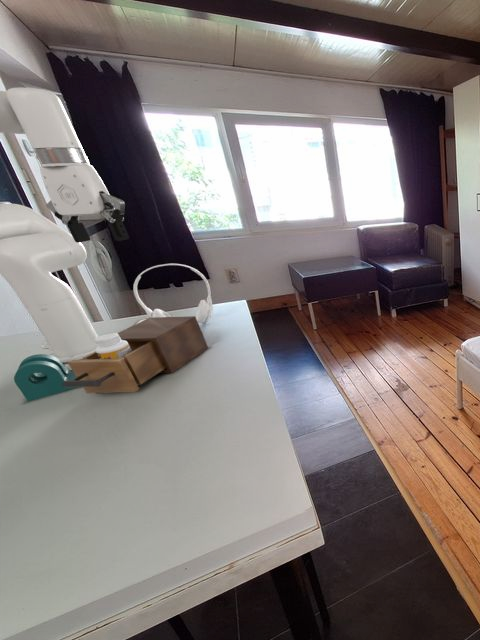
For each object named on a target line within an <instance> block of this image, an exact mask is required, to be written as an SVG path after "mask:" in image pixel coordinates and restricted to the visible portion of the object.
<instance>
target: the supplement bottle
mask: <svg viewBox="0 0 480 640" xmlns="http://www.w3.org/2000/svg"><path fill="white" fill-rule="evenodd" d="M117 333H118V332H112V333H106V334H103V335H102V334H101V335H100V336H99V335H98V337H97V338H96V339H95V341H96V343H97V345H98V347H97V348H96V349H95V351H96V353H97V355H98V356H99V358H100V359H124V358H123V356H125V355H126V354H128V353H130V352H132V350H131V348H130V346H129V344H128V342H127V341H125V340H121V338H120V337H119V335H118V334H117ZM124 361H125V360H124ZM125 363H126V362H125ZM126 365H127V364H126ZM129 370H130V369H129ZM130 372H131V371H130ZM131 374H132V373H131ZM132 376H133V375H132ZM133 378H134V377H133Z"/></svg>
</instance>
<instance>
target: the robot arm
mask: <svg viewBox="0 0 480 640" xmlns="http://www.w3.org/2000/svg"><path fill="white" fill-rule="evenodd" d="M0 133H2V134H14V135H26V138H27V139H28V142H29V143H30V145H31V147H32V149H33V151H34V153H35V158H36V160H38V161H39V164H40V165H41V166H39V172H40V176H41V179H42V183H43V184H44V187H45V190H46V192H47V194H48V197H49V199H50V200H49V201H48V202H47V203H46V208H47V209H48V210H49V211H50V212H51V213H52V214H53V215H54V217H56V218H57V219H58V220H60V221H61V223H62V224H63V225H65V226H66V227H67V229H68V230H69V232H68V231H67V230H65V229H64V228H62V227H61V226H59V225H58V224H56V223H55V222H53V221H52V220H50V219H48V218H47V217H45V215H43V214H42V213H40V212H38V211H36V210H35V209H33V208H31V207H28V206H26V205H22V204H18V203H0V275H1V277H2V278H3V279H4V280H5V281H6V282H7V283H8V285H9V286H10V287H11V289H12V290H13V291H14V292H15V294H16V295H17V297H18V299H19V300H20V302H21V303H22V305H23V306H24V307H25V309H26V311H27V313H28V314H29V316H30V317H31V319H32V320H33V322H34V324H35V325H36V326H37V328H38V330H39V332H40V333H41V334H42V336H43V338H44V340H45V341H44V342H45V343H42V344H41V345H40V348H41V349H42V350H49V351H50V352H51V353H50V354H49V355H51V356H54V357H56V358H58V359H59V360H60V361H61V362H62V363H63V364H64V363H68V362H70V361H72V360H83V357H85V356H87V355H89V354H91V353H93V352H95V349H96V348H97V347H98V345H97V343H96V341H95V339H96V338H97V337H99V335H98V334H97V332H96V330H95V328H94V326H93V324H92V323H91V320H90V318H88V315H87V314H86V312H85V310H84V309H83V306H82V305H81V303H80V301H79V300H78V298H77V295H76V294H75V293H74V290H73V289H72V288H71V287H70V286H69V284H68V283H66V282H65V281H63V280H61V279H60V278H58V277H56V276H55V275H53V274H52V273H55V272H58V271H63V270H67V269H71V268H74V267H78V266H80V265H82V264H84V263H85V262H86V260H87V258H88V257H87V255H88V254H87V249H86V248H85V246H84V245H83V244H82V243H84V242H88V241H91V237H90V235H89V233H88V231H87V229H86V227H85V225H84V224H83V222H80V219H81V216H82V217H83V216H95V215H100V216H102V217H103V218H104V219H105V220H106V221H108V222H107V225H108V228H109V230H110V232H111V234H112V236H113V238H114V240H115V241H117V242H122V241H125V240H129V239H130V235H129V233H128V231H127V229H126V227H125V225H124V223H123V222H124V221H125V215H126V211H125V208H126V203H125V201H124V200H122V199H120V198H118V197H116V196H113V195H111V194H110V193H109V191H108V188H107V187H106V185H105V184H104V183H105V182H104V181H103V180H102V178H101V176H100V175H99V173H98V171H97V170H96V169H95V168H94V166H93V165H91V164H90V160H89V159H88V156H87V155H86V153H85V150H84V149H83V146H82V144H81V142H80V140H79V138H78V135H77V133H76V131H75V129H74V126H73V125H72V122H71V120H70V118H69V116H68V114H67V111H66V109H65V107H64V105H63V103H62V101H61V98H60V97H59V96H58V95H57V94H56V93H54V92H53V91H50V90H47V89H43V88H37V87H21V86H20V87H11V88H8V89H7V90H6V91H4V90H0Z"/></svg>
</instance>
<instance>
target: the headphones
mask: <svg viewBox="0 0 480 640" xmlns="http://www.w3.org/2000/svg"><path fill="white" fill-rule="evenodd" d="M165 266H180V267H185V268H188V269H190V271H192V272H194V273H196V274H197V275H198V276H199V277H200V278H201V279H202V280H203V282H204V283H205V286H206V289H207V297H206V299H201V300H200V301H199V303H198V306H197V308H196V312H195V317H196V320H197V322H198V324H204V325H205V324H208V323H209V322H210V320H211V318H212V315H213V312H214V311H213V310H214V306H213V300H212V294H211V286H210V284H209V281H208V279H207V278H206V277H205V275H204V274H203V273H202V272H200V271H199V270H198V269H196V268H195V267H192V266H189V265H186V264H181V263H164V264H157V265H154V266H151V267H149V268H146V269H145V270H143V271H142V272H140V273H139V274H138V275H137V277H136V278H135V279H134V282H133V295H134V298H135V299H136V301H137V303H138V305H140V307H142V309H143V310H144V311H145V314H146V315H147V316H148V318H156V317H173V316H172V315H170V314H169V313H168V312H166V311H165V310H162V309H160V308H154V309H153V310H152V309H150V308H149V307H147V305H146V304H145V303H144V302H143V300H142V299H141V298H140V295H139V292H138V284H139V281H140V280H141V278H142V275H143V274H145V273H147V272H148V271H150V270H152V269H155V268H159V267H165Z"/></svg>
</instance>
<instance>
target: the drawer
mask: <svg viewBox="0 0 480 640" xmlns="http://www.w3.org/2000/svg"><path fill="white" fill-rule="evenodd" d="M128 344H129V346H130V348H131V350H132V352H130V353H128V354H126V355H125V356H123V358H124V359H100V358H99V356H98V355H97V353H96V351H95V352H93V353H91V354H89V355H87V356H85V357H83V359H80V360H72V361H70V362H67V365H68V366H69V367H70V370H72V371H73V372H74V374H75V375H76V378H74V379H72V380H70V381H64V382H63V383H62V386H63V387H77V388H83V390H84V392H85V393H86V394H95V393H96V394H98V393H99V394H100V393H101V394H103V393H135V392H136V393H137V392H138V391H139V390H140V386H139V385H143V384H145V383H146V382H147V381H148V380H151V379H152V378H153V377H155V376H156V375H158V374H160V373H159V372H161V371H162V370H164V369H165V368H166V366H165V364H164V361H163V359H162V357H161V355H160V353H159V351H158V349H157V347H156V345H155V343H154V341H132V342H128ZM124 360H125V361H124ZM125 362H126V363H125ZM126 364H127V365H126ZM129 369H130V370H129ZM130 371H131V372H130ZM131 373H132V374H131ZM132 375H133V376H132ZM133 377H134V378H133Z"/></svg>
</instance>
